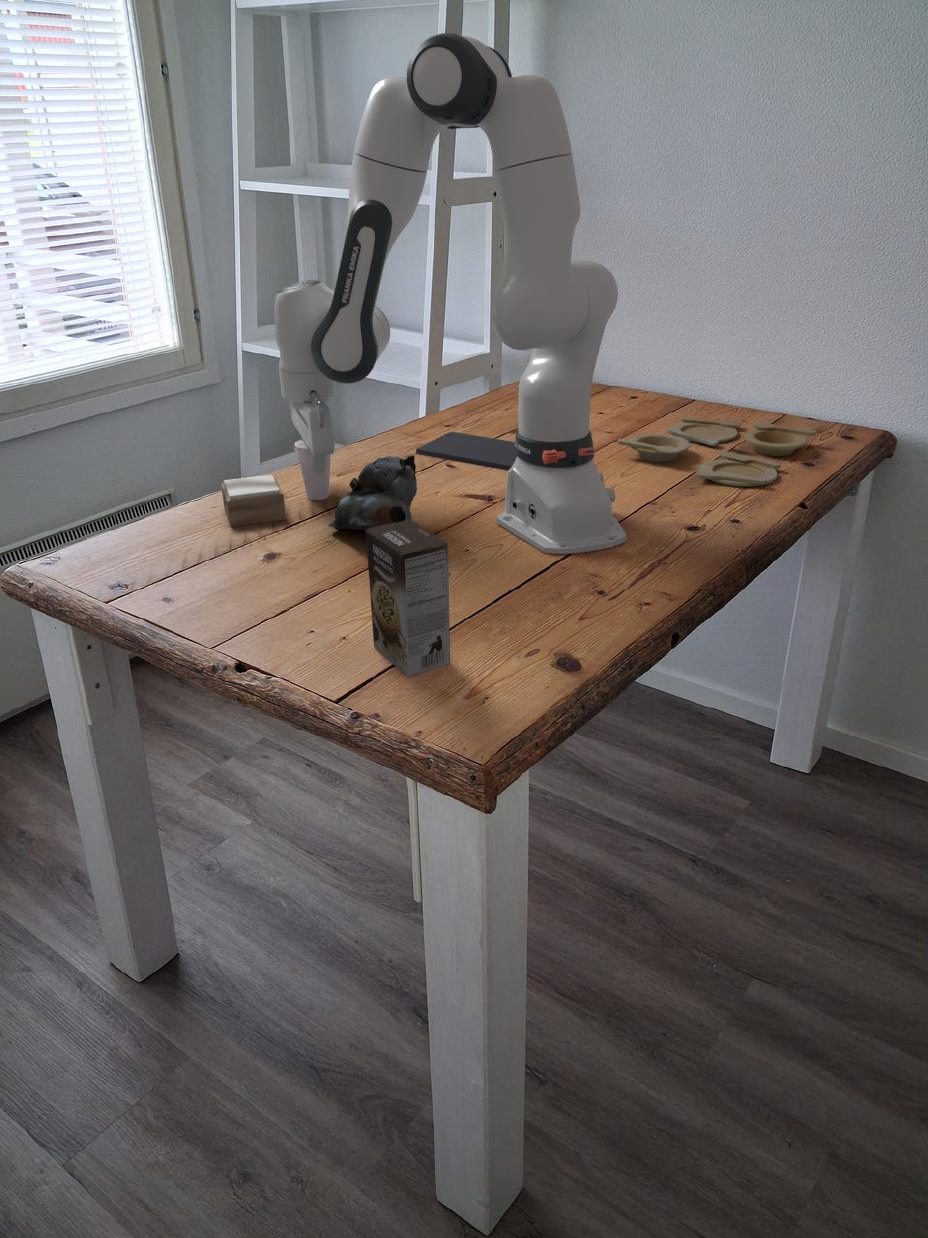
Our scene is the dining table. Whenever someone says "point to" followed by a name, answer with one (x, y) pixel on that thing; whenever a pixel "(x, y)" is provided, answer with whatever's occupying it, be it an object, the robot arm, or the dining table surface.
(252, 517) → the pedestal
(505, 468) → the notebook
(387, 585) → the coffee box
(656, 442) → the tableware set
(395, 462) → the grey lumpy figure
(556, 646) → the dining table surface
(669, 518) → the dining table surface
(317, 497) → the smoothie
